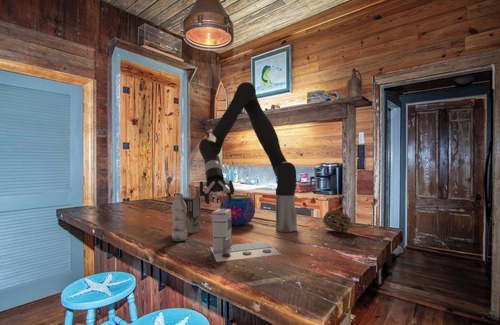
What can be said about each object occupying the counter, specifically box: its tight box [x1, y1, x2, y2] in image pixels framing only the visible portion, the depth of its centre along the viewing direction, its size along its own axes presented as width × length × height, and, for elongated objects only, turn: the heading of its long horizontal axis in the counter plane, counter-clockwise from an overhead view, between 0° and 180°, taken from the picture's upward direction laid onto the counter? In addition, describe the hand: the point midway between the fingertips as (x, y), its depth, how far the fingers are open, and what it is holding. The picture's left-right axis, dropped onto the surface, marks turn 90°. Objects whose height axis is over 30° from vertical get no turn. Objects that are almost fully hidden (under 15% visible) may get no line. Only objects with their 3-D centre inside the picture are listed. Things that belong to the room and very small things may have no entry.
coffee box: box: [183, 196, 201, 234], centre depth 126 cm, size 9×6×16 cm
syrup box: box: [211, 208, 233, 251], centre depth 97 cm, size 6×6×14 cm
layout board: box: [209, 241, 282, 263], centre depth 96 cm, size 23×15×1 cm, turn 107°
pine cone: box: [322, 209, 371, 234], centre depth 121 cm, size 22×10×10 cm, turn 55°
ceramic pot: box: [219, 194, 256, 226], centre depth 139 cm, size 18×18×15 cm
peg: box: [222, 238, 230, 257], centre depth 90 cm, size 3×3×6 cm
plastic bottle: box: [171, 193, 189, 243], centre depth 111 cm, size 6×7×20 cm
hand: (218, 202), depth 104 cm, fingers open, 8 cm apart
